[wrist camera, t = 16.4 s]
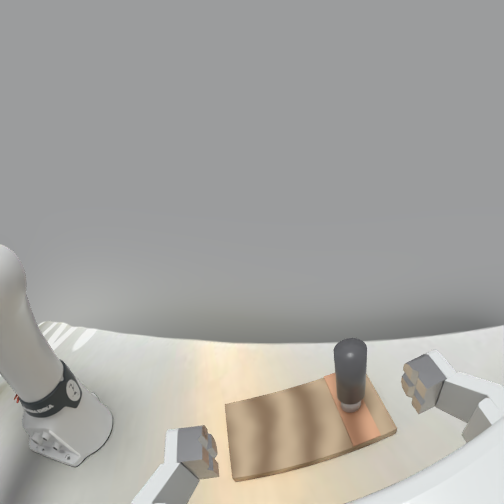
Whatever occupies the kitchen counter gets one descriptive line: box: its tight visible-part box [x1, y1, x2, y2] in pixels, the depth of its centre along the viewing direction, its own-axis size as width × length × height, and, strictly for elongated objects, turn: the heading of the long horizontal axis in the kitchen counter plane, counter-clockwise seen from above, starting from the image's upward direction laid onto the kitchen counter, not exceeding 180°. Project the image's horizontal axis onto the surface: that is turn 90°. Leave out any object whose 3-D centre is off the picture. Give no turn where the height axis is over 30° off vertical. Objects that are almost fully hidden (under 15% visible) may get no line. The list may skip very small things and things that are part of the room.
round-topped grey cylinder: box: [334, 338, 367, 413], centre depth 35 cm, size 4×4×12 cm
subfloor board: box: [225, 373, 397, 482], centre depth 38 cm, size 23×14×2 cm, turn 98°
